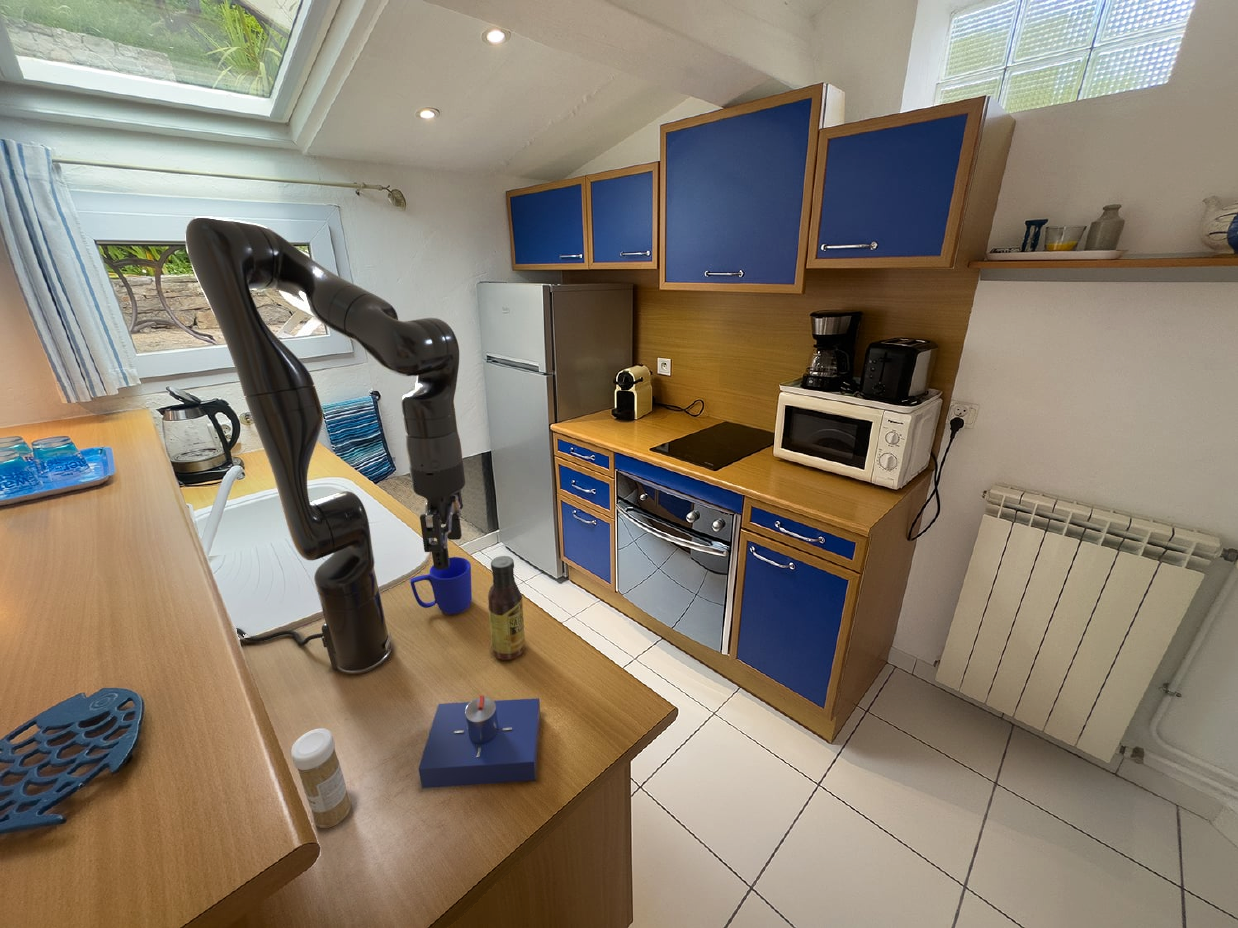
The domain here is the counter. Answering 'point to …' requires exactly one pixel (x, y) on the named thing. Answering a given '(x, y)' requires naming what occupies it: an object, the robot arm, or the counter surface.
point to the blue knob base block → (482, 747)
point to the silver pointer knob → (481, 720)
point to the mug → (448, 586)
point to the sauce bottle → (505, 611)
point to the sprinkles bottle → (321, 777)
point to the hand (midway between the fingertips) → (448, 552)
